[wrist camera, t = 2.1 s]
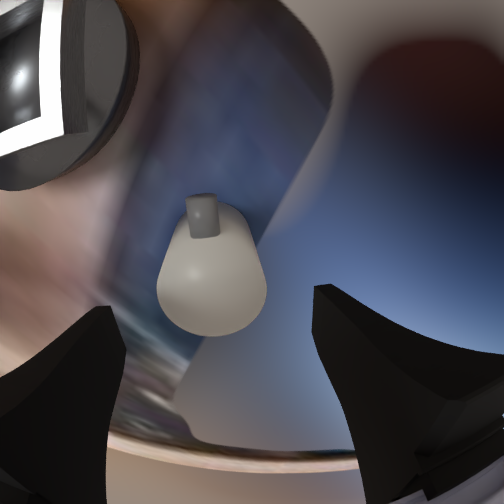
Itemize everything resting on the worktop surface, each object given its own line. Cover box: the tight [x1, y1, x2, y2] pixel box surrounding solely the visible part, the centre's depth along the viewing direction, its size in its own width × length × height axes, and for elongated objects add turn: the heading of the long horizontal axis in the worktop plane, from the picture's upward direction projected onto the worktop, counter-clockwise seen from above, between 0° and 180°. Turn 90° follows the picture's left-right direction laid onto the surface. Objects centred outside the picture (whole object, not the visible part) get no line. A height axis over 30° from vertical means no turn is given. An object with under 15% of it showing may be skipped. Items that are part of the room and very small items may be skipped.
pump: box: [157, 193, 267, 337], centre depth 14 cm, size 6×4×6 cm
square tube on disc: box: [0, 0, 140, 191], centre depth 10 cm, size 12×12×6 cm
